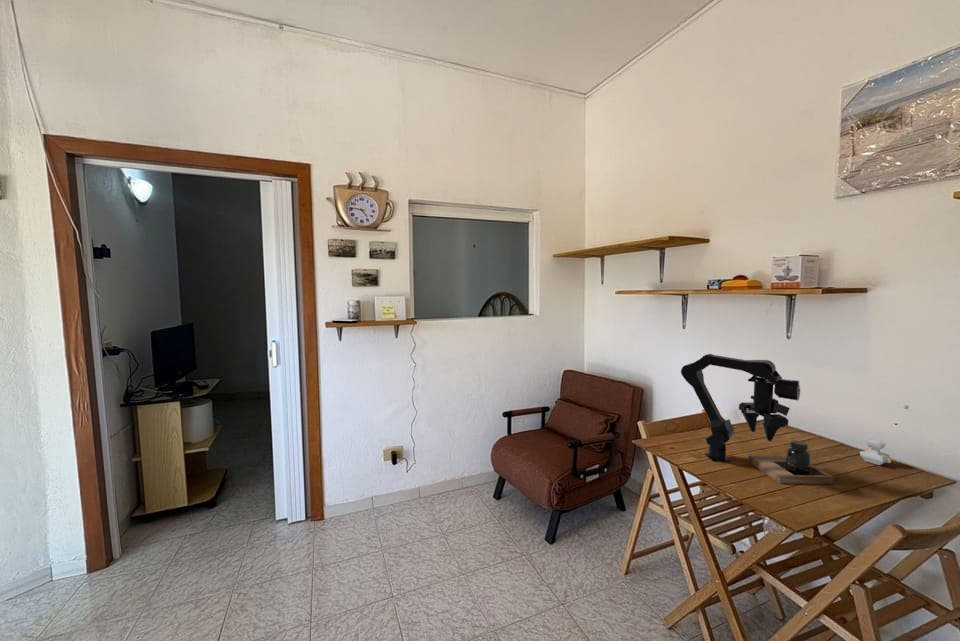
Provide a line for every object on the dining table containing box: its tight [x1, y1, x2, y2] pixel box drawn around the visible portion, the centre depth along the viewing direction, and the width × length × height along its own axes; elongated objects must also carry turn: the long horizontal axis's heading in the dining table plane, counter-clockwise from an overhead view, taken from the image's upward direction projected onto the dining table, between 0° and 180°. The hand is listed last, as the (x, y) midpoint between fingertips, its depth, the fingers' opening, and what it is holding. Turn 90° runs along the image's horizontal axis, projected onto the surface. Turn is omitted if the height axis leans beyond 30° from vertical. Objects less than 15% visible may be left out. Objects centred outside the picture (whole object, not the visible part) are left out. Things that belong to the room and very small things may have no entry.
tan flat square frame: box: [747, 454, 835, 485], centre depth 145 cm, size 17×18×2 cm
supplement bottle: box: [785, 439, 812, 475], centre depth 143 cm, size 7×7×12 cm
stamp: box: [859, 439, 892, 466], centre depth 152 cm, size 9×7×8 cm
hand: (760, 436), depth 146 cm, fingers open, 9 cm apart
